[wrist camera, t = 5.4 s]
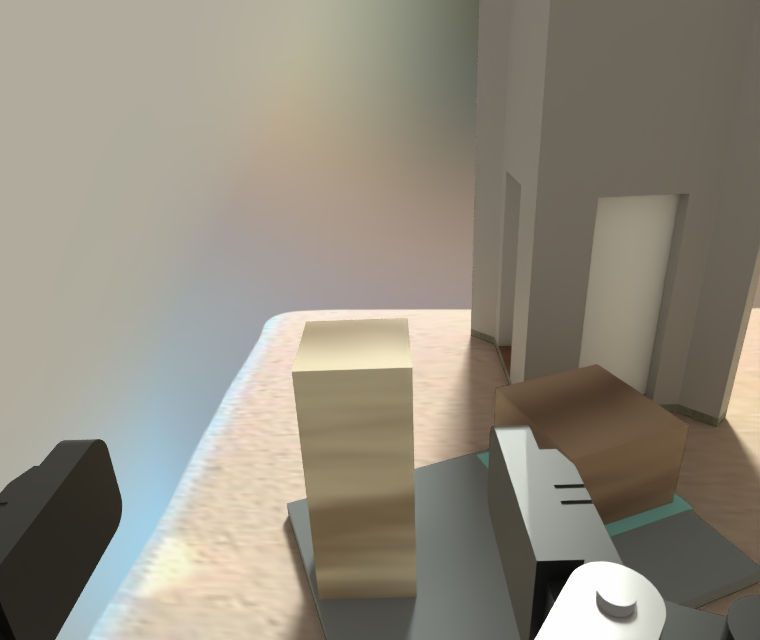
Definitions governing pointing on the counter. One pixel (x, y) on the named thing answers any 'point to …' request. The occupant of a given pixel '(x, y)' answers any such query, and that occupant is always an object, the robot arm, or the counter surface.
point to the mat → (485, 572)
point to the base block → (602, 436)
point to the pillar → (358, 455)
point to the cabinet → (619, 192)
